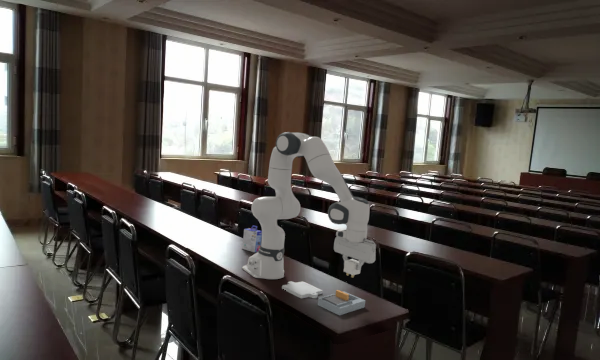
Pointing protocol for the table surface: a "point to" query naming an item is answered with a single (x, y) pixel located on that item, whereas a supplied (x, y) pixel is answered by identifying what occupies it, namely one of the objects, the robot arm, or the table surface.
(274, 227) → the robot arm
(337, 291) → the shutter
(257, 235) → the ink cartridge box
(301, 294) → the mounting plate
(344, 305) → the socket
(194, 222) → the table surface
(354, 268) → the white block
